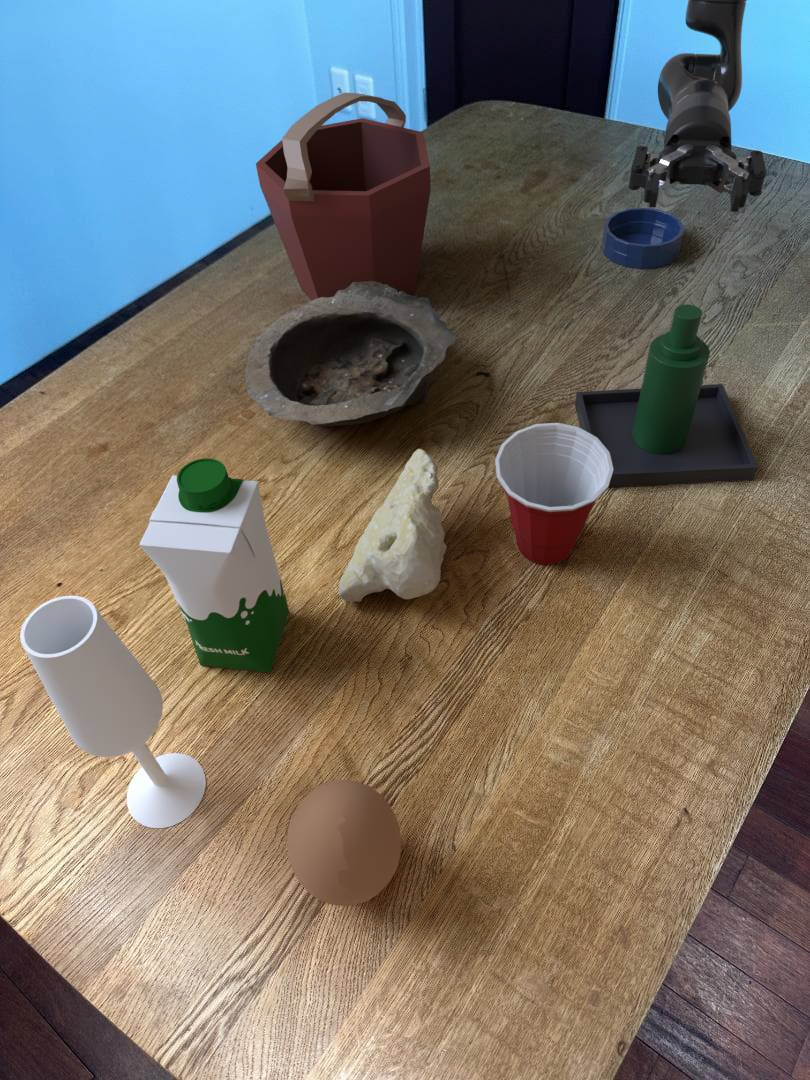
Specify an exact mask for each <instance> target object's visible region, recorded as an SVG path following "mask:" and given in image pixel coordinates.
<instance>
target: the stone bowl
mask: <svg viewBox="0 0 810 1080" xmlns="http://www.w3.org/2000/svg"><path fill="white" fill-rule="evenodd" d="M456 338H457V336H456V335H455V334H454V332H453V331H452V329H450V328H448V326H447V324H446V321H444V320H442V319H440V313H437V312H436V311H435V309H434V308H433V306H432V305H431V302H430V299H429V298H428V297H425V296H420V297H418V296H417V295H408V294H405V293H404V292H403V291H400V292H398V293H397V290H396V289H394V288H392V287H389V286H388V285H387V284H384V285H383V284H382V283H380V282H377V283H376V282H374V281H367V282H352V284H351V285H350V286H349V287H347V288H346V289H345V290H339V291H337V292H336V294H335V296H334V297H328V298H325V297H321V298H317V299H314V300H313V301H311V300H310V301H309V302H308V303H306V304H304V305H302V306H299V307H298V308H296V309H295V310H293V311H291V312H288V313H287V314H284V315H281V316H280V317H279V318H277V320H276V321H274V322H273V323H271V325H270V326H269V327H268V326H267V328H266V329H264V330H263V332H262V333H261V334H260V335H258V336H256V338H255V339H254V340H253V342H252V349H250V352H249V355H248V357H247V360H246V366H245V368H244V374H245V377H244V381H245V389H246V392H247V395H248V397H250V398H251V399H252V401H253V402H256V403H257V404H258V405H259V408H260V409H262V410H263V411H265V412H266V413H268V416H270V417H273V418H275V419H279V420H285V421H301V422H305V423H308V424H311V425H312V426H319V427H338V426H354V425H358V424H365V423H368V422H373V421H375V420H378V419H382V418H383V417H385V416H388V415H390V414H394V413H396V412H398V411H400V410H402V409H403V408H404V407H406V406H408V407H409V406H414V405H419V404H423V403H424V402H425V401H426V399H427V396H428V390H429V379H430V376H431V375H432V374H433V373H434V372H436V370H437V369H438V367H439V366H440V365H442V364H443V362H444V361H445V358H446V353H447V349H448V347H450V346H452V345H454V344H455V343H456V341H455V340H456Z"/></svg>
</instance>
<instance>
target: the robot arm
mask: <svg viewBox="0 0 810 1080" xmlns="http://www.w3.org/2000/svg"><path fill="white" fill-rule="evenodd" d="M747 1H748V0H688V1H687V5H686V11H685V25H686V27H687V28H688V29H690V30H692V31H694V32H697V33H700V34H705V35H707V36H711V37H713V38H714V39H715V40H717V42H718V44H719V47H720V53H719V54H716V53H715V54H713V53H711V54H710V53H694V52H693V53H692V52H682V53H679V54H675V55H673V56H672V57H671V58H669V59H668V60H667V61H666V62H665V64H664V65H663V67H662V69H661V71H660V74H659V76H658V82H657V98H658V104H659V108H660V110H661V112H662V114H663V116H664V117H665V118H666V120H667V122H666V127H665V132H664V138H663V150H661V151H660V152H659V153H652V152H651V151H648V149H649V148H648V147H647V146H646V145H639V146H637V147H636V150H635V152H634V153H635V154H634V157H633V160H632V163H631V169H630V176H629V183H628V189H629V190H631V191H638V190H639V189H640V188H642V189H643V190H644V194H643V201H644V203H646V204H648V208H653V209H657V204H658V197H659V191H661V190H662V191H668V190H671V189H672V188H674V187H676V186H678V185H681V186H682V185H692V186H693V185H701V186H703V187H704V186H705V187H706V186H708V187H710V188H711V189H713V190H714V191H715V192H718V193H719V194H724V193H727V194H728V195H730V213H731V212H732V213H738V212H739V209H740V208H741V209H744V208H745V206H746V203H747V200H748V196H749V195H750V196H752V197H760V196H761V194H762V191H763V186H764V182H765V178H766V175H767V168H766V167H767V166H766V163H765V159H764V154H763V152H762V151H761V150H755V149H753V150H751V152H750V155H747V157H744V156H737V154H736V153H735V152H734V151H732V150H733V149H732V148H733V147H732V121H731V115H730V111H731V110H732V109H733V108H734V107H735V106H736V104H737V103H738V101H739V98H740V95H741V92H742V88H743V64H742V63H743V62H742V33H743V24H744V23H743V22H744V16H745V11H746V6H747Z"/></svg>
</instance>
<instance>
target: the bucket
mask: <svg viewBox="0 0 810 1080" xmlns="http://www.w3.org/2000/svg"><path fill="white" fill-rule="evenodd" d="M359 102H365V103H366V102H369V103H374V104H376V105H377V106H378V107H379V108H380V109H381V110H382V111H383V112H384V114H385V115H386V116H387V117H386V119H385V120H386V121H385V122H381V121H377V120H373V119H368V118H364V117H360V118H355V119H350V120H344V121H340V122H334V123H328V124H326V122H327V121H329V120H330V119H331V118H333V116H334V115H335V114H338V113H339V112H341V111H342V110H345V109H346V108H347V107H350V106H352V105H354V104H357V103H359ZM406 121H407V115H406V113H405V112H404V111H403V109H402V108H401V107H400V106H399V105H398V103H397V102H396V101H393V100H389V99H386V98H384V97H381V96H380V97H379V96H374V95H369V94H365V93H359V92H342V93H339V94H337V95H335V96H333V97H330V98H328V99H326V100H325V101H323V102H321V103H319V104H317V105H315V106H314V107H313V108H311V109H310V110H309V111H307V112H306V113H304V114H303V115H302V116H301V117H300V118H298V120H296V121H295V122H294V123H293V124H291V126H290V127H289V129H288V130H287V131H286V133H285V134H284V135H283V136H282V138H281V140H280V141H279V142H278V143H276V145H275V146H273V147H272V148H271V149H270V150H269V151H268V152H267V153H266V154H265V155H263V156H262V157H261V158H260V159H259V160H258V161H257V162H255V168H256V173H257V177H258V178H257V179H258V182H259V188H260V189H261V192H262V194H263V195H262V196H263V198H264V199H265V202H266V205H267V207H268V210H269V213H270V214H271V217H272V219H273V222H274V225H275V227H276V229H277V232H278V235H279V238H280V240H281V242H282V245H283V247H284V250H285V253H286V255H287V256H288V260H289V262H290V265H291V268H292V270H293V272H294V275H295V277H296V280H297V283H298V285H299V288H300V290H301V291H302V292H303V293H304V294H305V295H306V296H307V298H309V300H310V302H311V301H313V300H314V299H317V298H321V297H325V298H328V297H334V296H335V294H336V292H337V291H339V290H345V289H346V288H347V287H349V286H350V285H351V284H352V282H367V281H374V282H376V283H377V282H380V283H382V284H383V285H384V284H387V285H388V286H389V287H392V288H394V289H396V290H397V293H398V292H400V291H403V292H404V293H405V294H408V295H411V296H414V295H415V294H416V287H417V280H418V273H419V267H420V261H421V254H422V248H423V241H424V236H425V228H426V223H427V215H428V209H429V203H430V202H429V201H430V196H431V189H432V188H431V165H430V160H429V155H428V150H427V144H426V140H425V135H424V131H421V130H420V131H419V130H416V129H411V128H407V127H405V126H406Z"/></svg>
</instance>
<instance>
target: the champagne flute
mask: <svg viewBox="0 0 810 1080" xmlns="http://www.w3.org/2000/svg"><path fill="white" fill-rule="evenodd" d="M19 633H20V634H19V639H20V645H22V648H23V649H24V651H25V653H26V656H27V657H28V659H29V661H30V662H31V665H32V667H33V668H34V670H35V672H36V674H37V676H38V678H39V679H40V681H41V683H42V686H43V687H44V689H45V691H46V692H47V695H48V696H49V698H50V701H51V702H52V704H53V707H54V708H55V709H56V711H57V713H58V716H59V717H60V719H61V720H62V723H63V724H64V726H65V728H66V730H67V732H68V734H69V736H70V738H71V739H72V741H73V743H74V744H75V745H76V746H77V747H78V748H79V749H80V750H82V751H84V753H86V754H89V755H92V756H94V757H99V758H115V757H120V756H124V755H128V754H130V753H132V754H133V756H134V757H135V759H136V760H137V762H138V763H139V765H140V766H141V767H140V768H139V769H138V770H137V771H136V773H135V774H134V776H132V778H131V781H130V783H129V785H128V788H127V792H126V805H127V809H128V812H129V814H130V815H131V817H132V818H133V819H134V821H136V822H137V823H138V824H139V825H141V826H144V827H147V828H149V829H150V828H151V829H166V828H169V827H173V826H175V825H177V824H180V823H181V822H183V821H184V820H186V819H187V818H189V816H191V815H192V814H193V813H194V812H195V811H196V809H197V808H198V807H199V805H200V804H201V802H202V800H203V798H204V795H205V791H206V786H207V785H206V784H207V780H206V775H205V771H204V769H203V767H202V765H201V764H200V762H198V761H197V760H196V759H195V758H193V757H192V756H191V755H187V754H184V753H181V752H180V753H179V752H171V753H165V754H161V755H158V756H155V755H154V753H152V750H151V749H150V748H149V746H148V744H147V742H148V741H149V740H150V738H151V737H153V735H154V733H155V732H156V730H157V728H158V727H159V724H160V722H161V719H162V716H163V710H164V702H163V696H162V692H161V690H160V689H159V686H158V685H157V683H155V681H154V680H153V678H152V677H151V676H150V675H149V674H148V672H147V670H145V669H144V667H143V666H142V665H141V663H140V662H139V661H138V659H137V658H136V657H135V656H134V655H133V653H132V652H131V651H130V649H129V648H128V647H127V646H126V644H125V643H124V642H123V640H122V639H121V638H120V637H119V636H118V635H119V634H117V633H116V632H115V630H114V629H113V628H112V627H111V625H110V624H109V623H108V622H107V620H106V619H105V618H104V616H103V615H102V614H101V613H100V611H99V610H98V609H97V607H96V606H95V604H93V602H91V601H90V600H89V599H87V598H85V597H82V596H80V595H62V596H58V597H55V598H52V599H49V600H46V601H45V602H43V603H42V604H40V605H39V606H37V607H36V608H35V609H34V610H33V611H32V612H30V614H29V615H28V616H27V617H26V619H25V620H24V622H23V623H22V626H21V629H20V632H19Z"/></svg>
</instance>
